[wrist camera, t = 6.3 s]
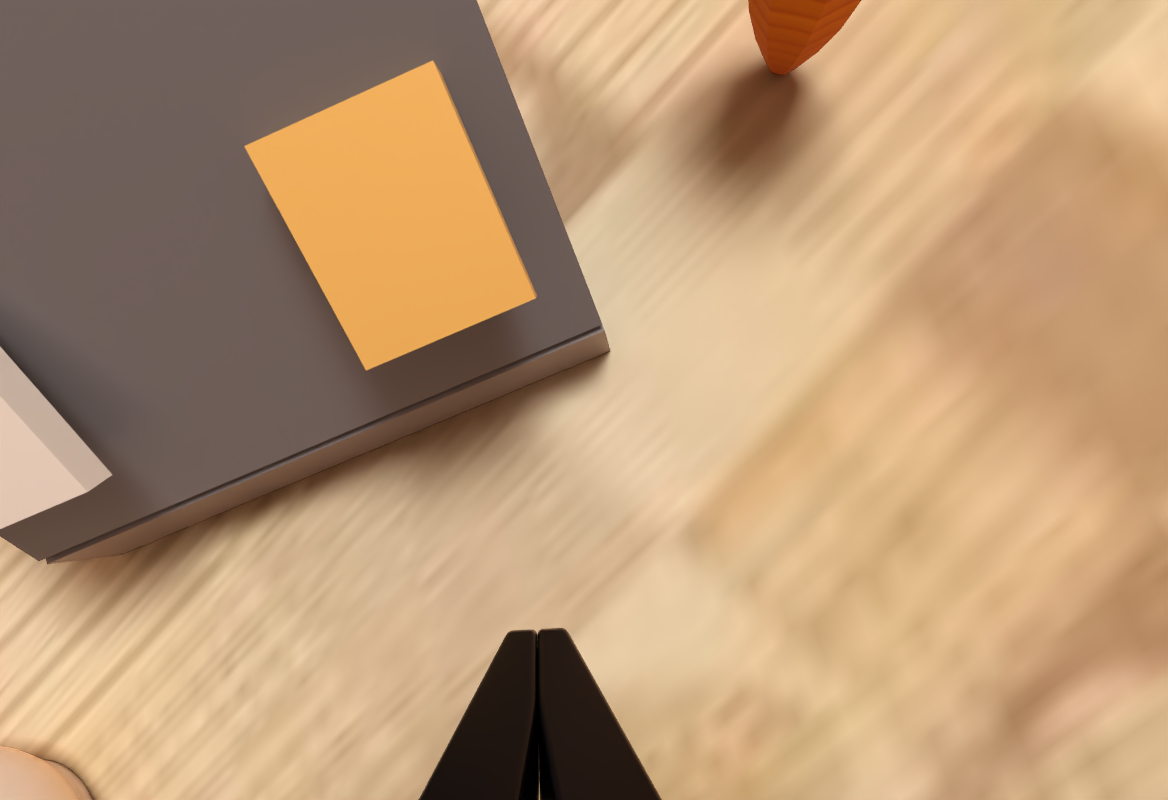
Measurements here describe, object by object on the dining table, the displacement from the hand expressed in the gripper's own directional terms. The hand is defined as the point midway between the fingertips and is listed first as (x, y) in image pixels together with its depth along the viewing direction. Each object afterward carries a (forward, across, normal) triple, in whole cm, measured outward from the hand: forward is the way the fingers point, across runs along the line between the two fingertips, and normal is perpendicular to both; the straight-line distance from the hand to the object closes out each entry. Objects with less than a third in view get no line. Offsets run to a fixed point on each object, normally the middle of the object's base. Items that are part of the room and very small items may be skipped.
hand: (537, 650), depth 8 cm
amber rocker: (+11, +3, -3) cm, 11 cm away
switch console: (+17, +9, 0) cm, 19 cm away
